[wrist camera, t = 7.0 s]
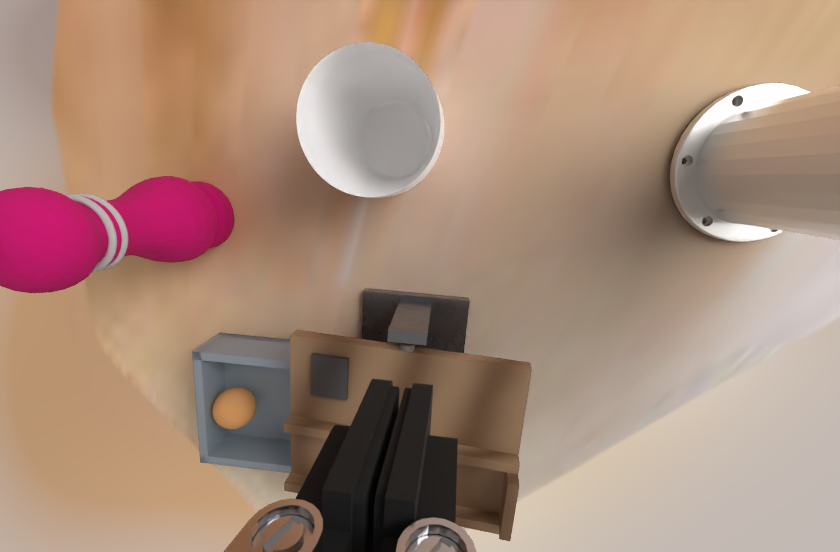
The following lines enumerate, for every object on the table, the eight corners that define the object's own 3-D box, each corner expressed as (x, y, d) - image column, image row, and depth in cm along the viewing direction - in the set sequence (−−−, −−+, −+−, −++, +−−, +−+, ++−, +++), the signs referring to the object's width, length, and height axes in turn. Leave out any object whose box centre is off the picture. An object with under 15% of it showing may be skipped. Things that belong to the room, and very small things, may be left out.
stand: (468, 297, 38) (474, 331, 30) (451, 461, 43) (451, 530, 34) (365, 288, 39) (343, 318, 30) (359, 450, 43) (337, 516, 35)
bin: (344, 345, 40) (331, 365, 36) (340, 447, 43) (328, 477, 39) (219, 332, 41) (192, 351, 37) (225, 434, 44) (200, 462, 40)
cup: (445, 83, 34) (443, 34, 22) (446, 192, 36) (444, 199, 24) (341, 87, 34) (285, 42, 23) (347, 193, 37) (300, 201, 25)
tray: (530, 357, 30) (536, 380, 27) (506, 516, 34) (508, 554, 30) (297, 325, 33) (274, 342, 30) (297, 475, 37) (277, 506, 33)
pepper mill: (156, 184, 38) (-154, 193, 18) (226, 168, 37) (-21, 159, 18) (181, 258, 39) (-78, 337, 20) (249, 244, 38) (47, 313, 19)
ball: (254, 377, 42) (257, 396, 38) (255, 410, 43) (258, 432, 39) (211, 383, 40) (210, 404, 37) (213, 418, 41) (213, 441, 38)
